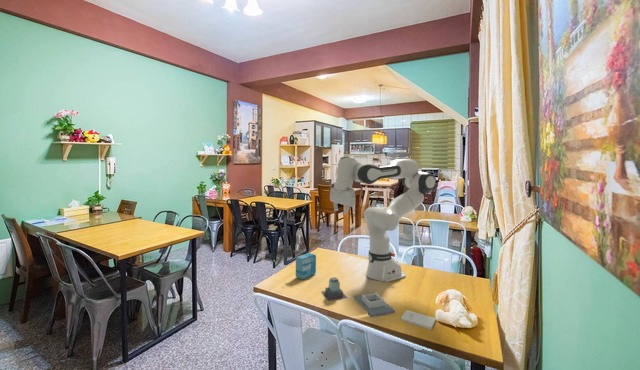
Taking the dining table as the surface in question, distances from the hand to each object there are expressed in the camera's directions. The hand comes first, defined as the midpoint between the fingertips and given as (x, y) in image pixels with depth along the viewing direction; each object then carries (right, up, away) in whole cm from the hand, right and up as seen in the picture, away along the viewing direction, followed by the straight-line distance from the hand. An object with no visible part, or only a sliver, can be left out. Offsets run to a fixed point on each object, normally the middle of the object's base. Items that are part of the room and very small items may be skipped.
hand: (340, 212), depth 155 cm
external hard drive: (+30, -43, -33) cm, 62 cm away
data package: (-19, -38, +11) cm, 43 cm away
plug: (-4, -39, -14) cm, 41 cm away
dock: (+13, -41, -21) cm, 48 cm away
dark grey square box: (-4, -40, -14) cm, 42 cm away
